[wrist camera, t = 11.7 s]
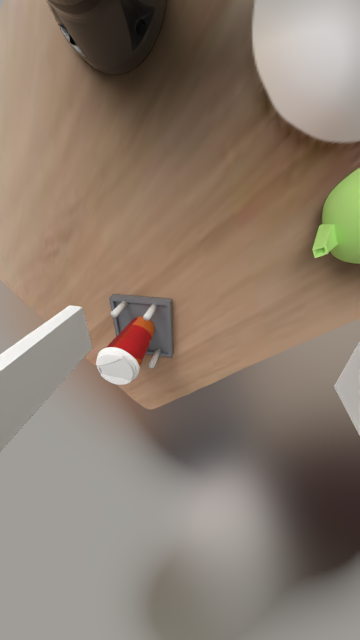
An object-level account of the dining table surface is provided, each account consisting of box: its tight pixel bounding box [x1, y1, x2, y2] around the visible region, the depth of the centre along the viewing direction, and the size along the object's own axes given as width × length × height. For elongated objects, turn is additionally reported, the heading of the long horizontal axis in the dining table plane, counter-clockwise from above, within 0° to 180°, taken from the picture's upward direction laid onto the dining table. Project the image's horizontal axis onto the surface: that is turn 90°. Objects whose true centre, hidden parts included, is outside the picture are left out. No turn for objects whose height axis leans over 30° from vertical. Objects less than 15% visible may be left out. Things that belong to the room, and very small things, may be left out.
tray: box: [109, 294, 174, 368], centre depth 50 cm, size 15×14×7 cm
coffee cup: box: [96, 316, 155, 385], centre depth 45 cm, size 8×8×15 cm
